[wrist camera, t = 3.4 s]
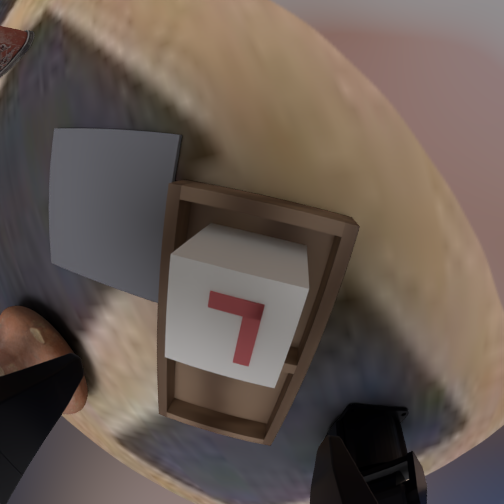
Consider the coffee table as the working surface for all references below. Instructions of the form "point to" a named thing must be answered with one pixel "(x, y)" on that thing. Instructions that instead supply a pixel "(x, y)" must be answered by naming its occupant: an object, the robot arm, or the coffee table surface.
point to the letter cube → (235, 302)
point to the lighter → (13, 47)
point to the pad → (111, 204)
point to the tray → (309, 326)
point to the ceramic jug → (33, 347)
